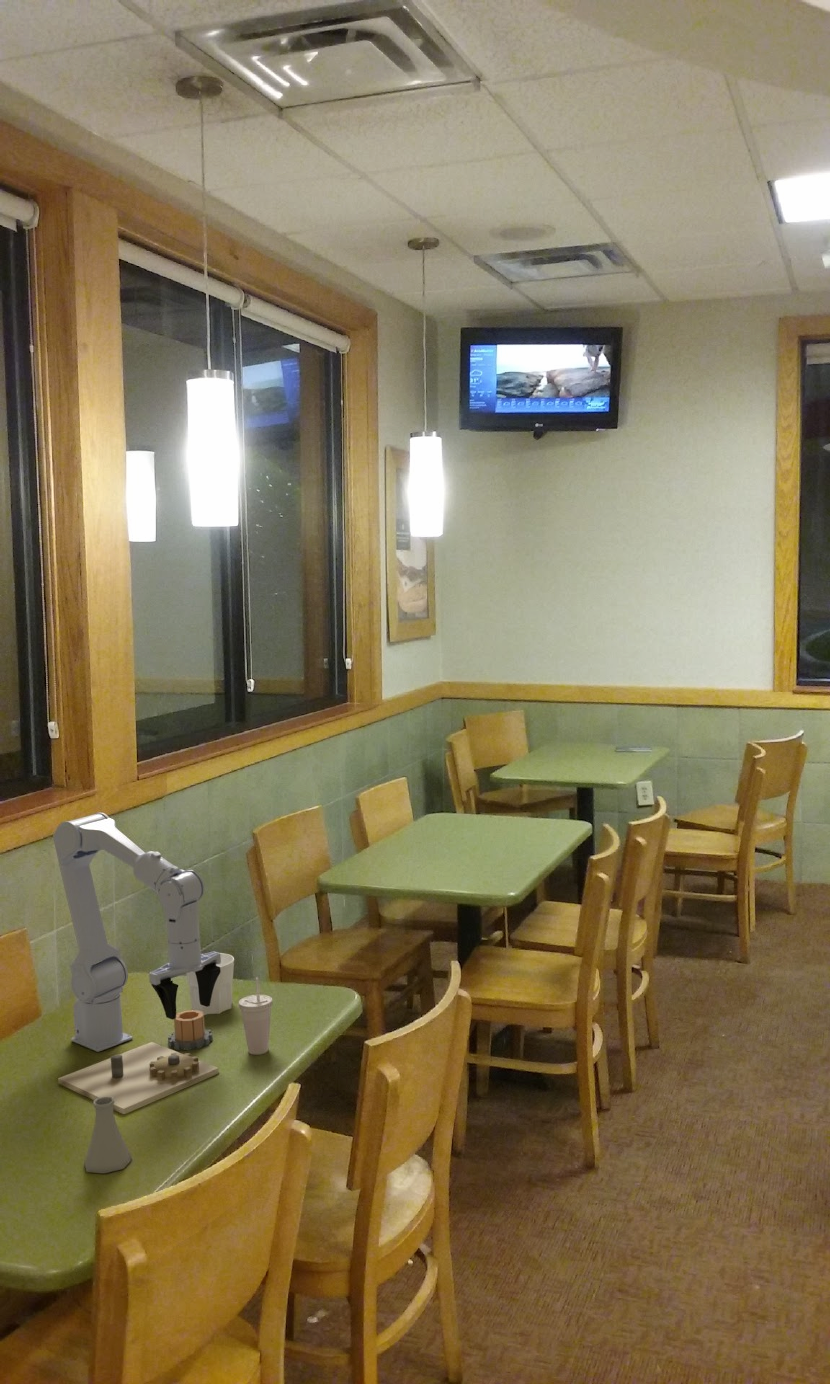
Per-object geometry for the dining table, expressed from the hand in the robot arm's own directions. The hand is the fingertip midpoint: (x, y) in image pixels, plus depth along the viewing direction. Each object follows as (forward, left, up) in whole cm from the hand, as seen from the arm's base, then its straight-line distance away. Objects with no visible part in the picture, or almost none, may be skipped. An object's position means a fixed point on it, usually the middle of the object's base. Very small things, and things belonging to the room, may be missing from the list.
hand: (188, 1011), depth 216 cm
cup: (-19, +20, -10) cm, 29 cm away
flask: (+20, -31, -10) cm, 38 cm away
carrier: (-2, -10, -10) cm, 14 cm away
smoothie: (+6, +11, -10) cm, 16 cm away
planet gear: (-8, +6, -10) cm, 14 cm away
